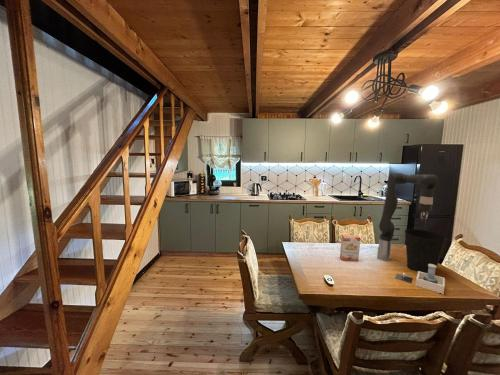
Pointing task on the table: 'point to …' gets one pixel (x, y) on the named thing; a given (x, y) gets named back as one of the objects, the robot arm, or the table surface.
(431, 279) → the knob
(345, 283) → the table surface
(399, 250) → the table surface
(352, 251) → the cracker box
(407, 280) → the stud mount
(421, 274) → the parts tray
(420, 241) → the bucket
